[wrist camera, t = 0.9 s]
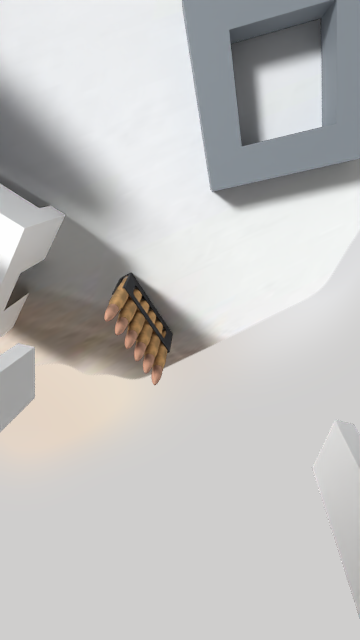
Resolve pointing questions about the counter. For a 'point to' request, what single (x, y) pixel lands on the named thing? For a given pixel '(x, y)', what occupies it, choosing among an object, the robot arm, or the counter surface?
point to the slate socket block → (220, 94)
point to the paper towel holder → (21, 246)
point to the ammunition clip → (140, 325)
